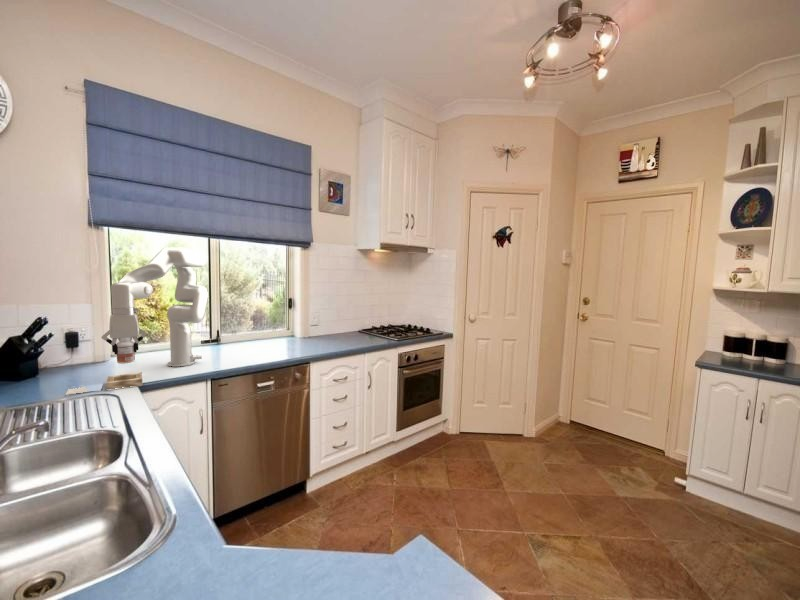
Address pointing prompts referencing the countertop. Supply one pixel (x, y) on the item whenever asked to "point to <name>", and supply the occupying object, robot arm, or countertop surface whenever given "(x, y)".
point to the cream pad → (76, 390)
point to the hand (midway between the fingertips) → (125, 352)
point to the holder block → (124, 380)
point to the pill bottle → (125, 351)
